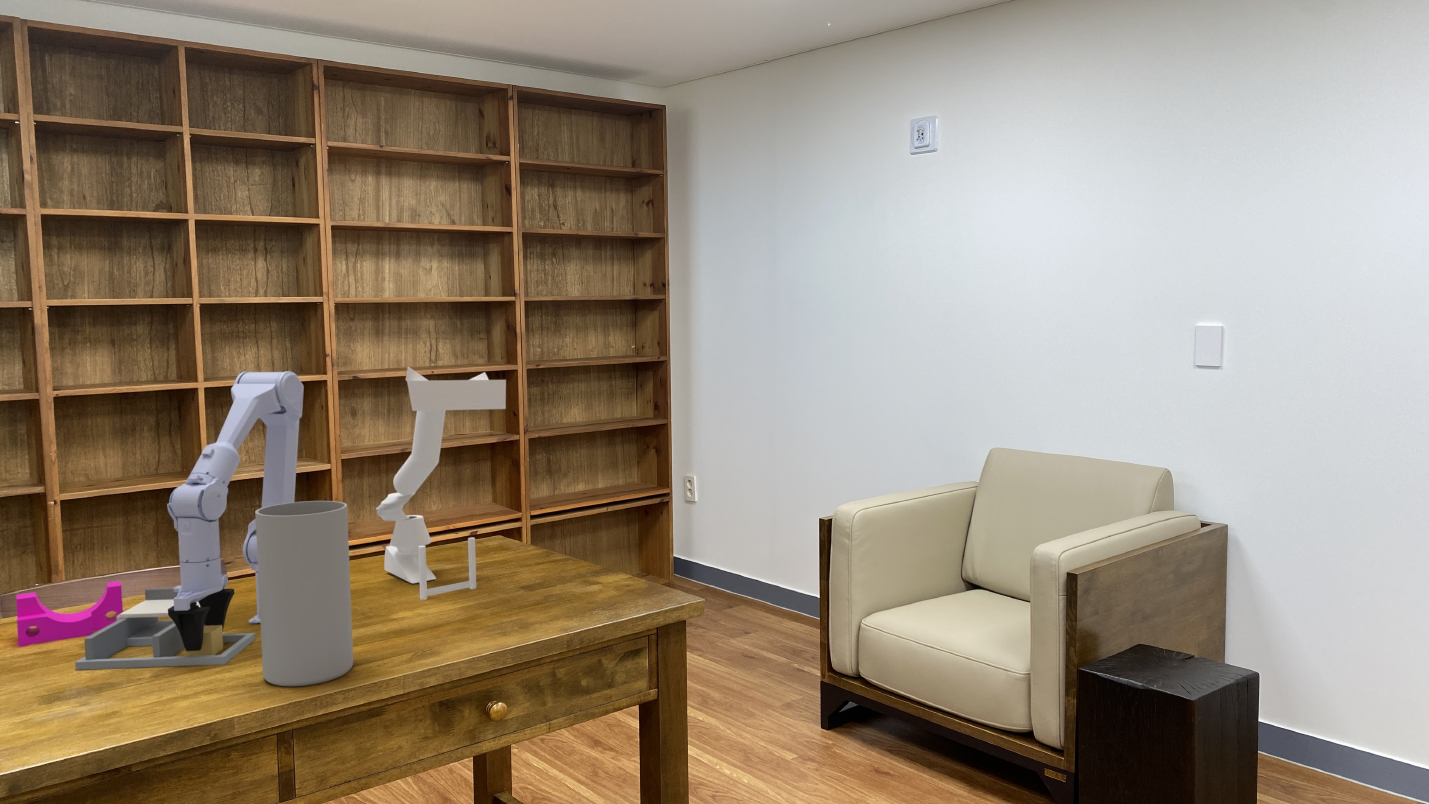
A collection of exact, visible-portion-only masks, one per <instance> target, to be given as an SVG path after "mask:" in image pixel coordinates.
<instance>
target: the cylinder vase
mask: <svg viewBox="0 0 1429 804" xmlns="http://www.w3.org/2000/svg"><path fill="white" fill-rule="evenodd" d="M254 514H255V519H256V537H257V559H258V580H259V601H260V623H259V624H260V638H261V639H260V640H261V660H262V661H261V663H262V665H261V666H262V675H263V679H264V680H265V681H267V682H268V683H269V684H272V685H276V686H279V687H280V686H281V687H306V686H312V685H318V684H322V683H327V682H330V681H334V680H335V679H337V678H340V677H343V676H344V675H346V674H347V673H348V672H349V671H350V670H351V669H352V667H353V665H354V648H353V647H354V646H353V642H354V641H353V623H352V621H353V620H352V619H353V616H352V600H351V599H352V598H351V595H352V594H351V574H350V571H351V569H350V547H349V522H348V504H347V503H345V502H342V501H335V500H311V501H310V500H308V501H305V500H304V501H296V502H295V501H294V502H293V503H284V504H278V505H272V506H267V507H264V508H262V507H261V508H258V509H256V510H255V513H254Z"/></svg>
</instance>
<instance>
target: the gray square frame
mask: <svg viewBox="0 0 1429 804" xmlns="http://www.w3.org/2000/svg"><path fill="white" fill-rule="evenodd" d="M204 626H205V624H204ZM255 640H256V633H255V632H250V633H249V632H247V633H245V632H242V633H223V644H224V643H234V644H232V645H231V646H230V647H229V648H227V649H226V650H225V651H224V652H222V653H221V654H215V655H203V656H186V655H180V656H179V655H178V656H176V654H178V653H179V652H182V650H184V649H185V647H184V644H183V641H182V638H181V635H180V633H179V630H178V628H177V626H176V625H175V623H174V622H173V620H172V619H163V620H162V619H161V620H159V617H136V618H121V619H119V620H118V621H116V622H114V623H112V624H110V625H109V626H107V627H105V628H103V629H101V630H97V631H96V632H93V634H92V635H88V636H86V637H84V640H83V641H84V653H85V654H84V655H85V656H83V657H82V658H79V659H78V660H77V661H74V667H75V671H78V670H79V671H80V670H84V671H85V670H104V669H105V670H106V669H107V670H108V669H133V668H134V669H137V668H157V667H158V668H161V667H162V668H163V667H186V666H187V667H189V666H190V667H192V666H193V667H194V666H213V665H214V666H216V665H218V666H219V665H226V664H227V663H228V662H230V661H231V660H232V659H233V658H235V657H236V656H237V655H238V654H240V652H242V651H243V650H245V648H246V647H248V646H249V645H250V644H252V643H253V642H254V641H255ZM144 646H145V647H148V646H151V647H152V656H153V657H150V656H149V657H127V658H126V657H125V658H124V657H123V658H110V657H112V656H114V655H115V654H117V653H119V652H121V651H122V650H123V649H125V648H127V647H144Z"/></svg>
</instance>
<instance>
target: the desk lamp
mask: <svg viewBox="0 0 1429 804" xmlns="http://www.w3.org/2000/svg"><path fill="white" fill-rule="evenodd" d="M405 381H406V383H407V388H408V395H409V400H410V406H411V411H413V412H416V415H415V422H414V429H413V431H414V432H413V440H412V448H411V453H410V455H409V456H408V458H407V459H406V461H405V462H404V464H402V465H401V467H400V468H399V469H398V471H397V473H396V474H395V475H394V477H393V479H392V480H393V483H392V484H393V487H394V490H395V492H393V493H389V494H387V497H386V498H385V499H384V500H382V501H381V502H380V504H379V505H378V506H377V507H376V508H375V510H376V515H377V516H379V517H381V520H383V521H384V522H385V521H386V522H394V521H395V525H394V528H393V531H392V536H391V539H390V543H389V545H388V546H385V552H384V565H383V566H384V567H383V570H385V571H386V572H389V573H390V574H392V575H394V576H396V577H398V578H400V579H403V581H406V582H408V583H411V584H417V583H419V599H420V601H424V600H428V596H434V595H438V594H443V593H449V592H454V591H458V590H464V589H469V590H475V589H477V565H476V563H477V562H476V538H475V537H468V538H467V543H468V544H467V545H468V546H467V547H468V548H467V549H468V551H467V553H468V580H467V581H461V582H456V583H452V584H447V585H440V586H436V587H431V588H428V582H427V581H432V580H436V579H437V577H436V576H435V574H434V573H433V572H432V570H431V568H429V566H428V564H427V552H426V551H427V550H426V548H427V547H426V545H429V544H431V543H432V539H431V537H430V534H429V531H428V528H427V526H426V523H425V519H424V516H423V515H419V514H411V515H410V514H409V515H408V514H405V512H404V511H403V508H404V506H405V504H406V503H408V502H409V501H410V499H411V498H412V497H413V496H415V495H416V492H417V491H418V489H419V488H420V487H421V486H422V484H423V483H424V482H425V481H426V479H427V478H428V477H429V476H430V474H432V472H433V471H434V469H435V468H436V467H437V466H438V464H439V462H440V454H441V450H442V449H441V447H442V439H443V433H444V425H445V418H446V411H470V410H471V411H472V410H473V411H474V410H475V411H476V410H478V411H479V410H506V408H507V407H506V405H507V404H506V401H507V400H506V399H507V398H506V397H507V393H506V392H507V390H506V389H507V379H489V377H488V375H487V374H486V372H485V371H484V372H481V373H480V374H478V375H476V376H474V377H471V378H470V379H460V380H459V379H454V380H450V379H449V380H447V379H446V380H441V379H440V380H438V379H435V380H432V379H431V380H429V379H427V378H426V377H424V375H421V374H420V373H418V372H417V371H415V370H414V369H413V368H411V367H410V366H407V369H406V376H405Z"/></svg>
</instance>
